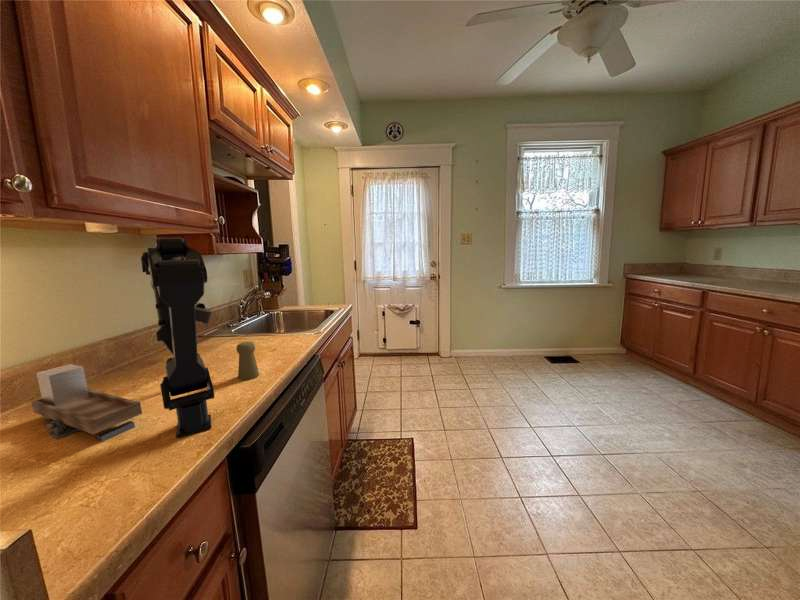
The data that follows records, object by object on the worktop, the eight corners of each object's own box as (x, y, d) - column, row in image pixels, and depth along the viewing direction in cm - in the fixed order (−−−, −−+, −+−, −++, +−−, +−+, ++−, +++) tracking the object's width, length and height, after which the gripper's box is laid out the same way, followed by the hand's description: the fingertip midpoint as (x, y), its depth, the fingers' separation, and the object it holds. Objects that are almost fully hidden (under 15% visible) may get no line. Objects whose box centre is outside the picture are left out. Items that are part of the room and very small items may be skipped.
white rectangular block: (89, 397, 79) (83, 366, 77) (56, 409, 73) (48, 375, 72) (76, 394, 81) (70, 363, 80) (43, 404, 76) (36, 372, 74)
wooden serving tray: (142, 413, 73) (140, 402, 72) (93, 434, 65) (90, 422, 64) (82, 396, 83) (80, 386, 83) (33, 412, 75) (31, 401, 75)
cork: (253, 380, 97) (250, 345, 95) (234, 380, 97) (230, 345, 95) (262, 372, 103) (259, 339, 101) (244, 372, 103) (240, 339, 101)
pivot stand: (152, 419, 75) (150, 407, 75) (80, 451, 64) (77, 437, 63) (95, 401, 85) (93, 390, 85) (24, 426, 73) (21, 414, 73)
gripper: (210, 299, 76) (217, 361, 79) (204, 290, 91) (211, 343, 94) (151, 305, 70) (162, 372, 73) (156, 294, 85) (164, 350, 88)
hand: (178, 357), depth 82 cm, fingers closed
